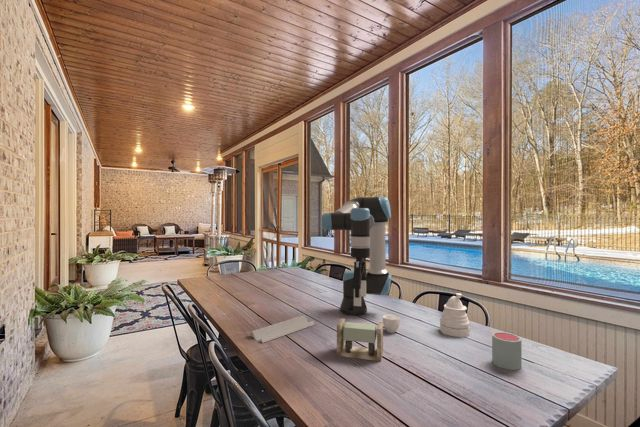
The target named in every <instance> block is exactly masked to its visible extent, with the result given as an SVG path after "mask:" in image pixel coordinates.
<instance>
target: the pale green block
mask: <svg viewBox="0 0 640 427" xmlns="http://www.w3.org/2000/svg"><path fill="white" fill-rule="evenodd" d="M344 340H347V341H352V342H357V343H358V342H359V343H360V342H361V343H375V344H376V341H377V324H371V323H358V322H349V321H346V322H345V326H344Z"/></svg>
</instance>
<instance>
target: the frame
mask: <svg viewBox="0 0 640 427" xmlns="http://www.w3.org/2000/svg"><path fill="white" fill-rule="evenodd" d="M345 320H346V319H345V318H343V317H342V318H340V319H339V321H338V322H337V324H336V356H338V357H345V358H353V359H361V360H369V361H376V362H382V359H383V353H384V324H383V321H379V322H378V324H377V326H376V342H375V343H368V347H363V346H362V347H361V346H353V341H347V340H344V326H345V324H346V322H345ZM375 345H376V346H375Z"/></svg>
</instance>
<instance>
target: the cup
mask: <svg viewBox="0 0 640 427" xmlns="http://www.w3.org/2000/svg"><path fill="white" fill-rule="evenodd" d="M400 320H401V319H400V316H399V315H396V314H391V313H390V314H384V315H383V316H382V322H383V328H384V329H385V331H386V332H387V333H390V334H394V333H396V332H397V330H398V329H399V327H400V324H401V323H400V322H401V321H400Z"/></svg>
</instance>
